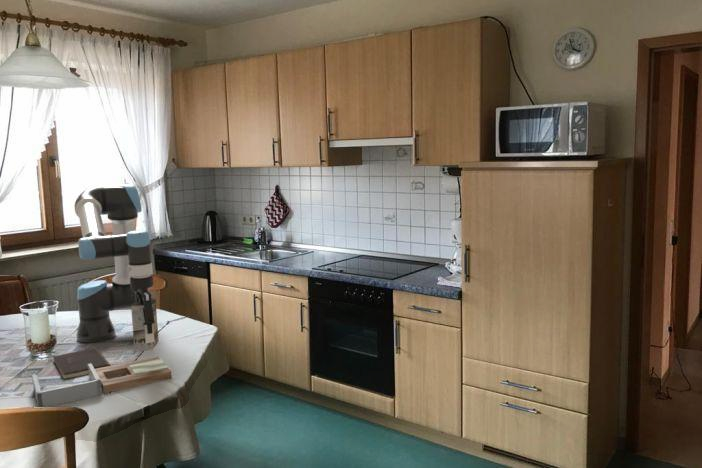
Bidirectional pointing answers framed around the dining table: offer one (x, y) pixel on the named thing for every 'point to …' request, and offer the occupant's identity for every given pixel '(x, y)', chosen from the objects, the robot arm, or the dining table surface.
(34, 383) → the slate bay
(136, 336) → the coffee box
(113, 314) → the dining table surface
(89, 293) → the robot arm
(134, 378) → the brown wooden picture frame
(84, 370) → the hardcover book
